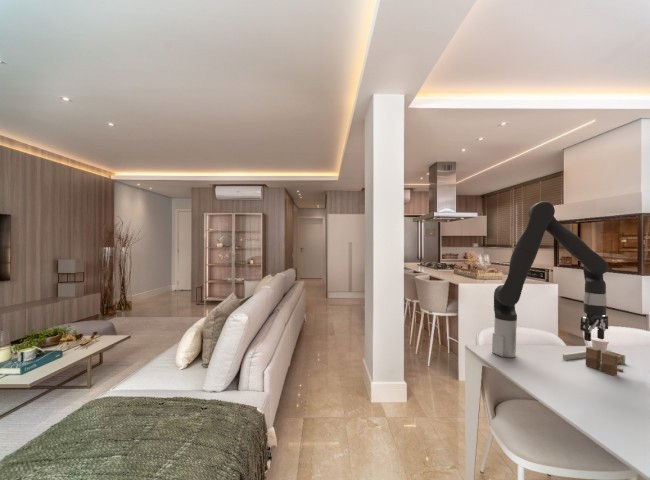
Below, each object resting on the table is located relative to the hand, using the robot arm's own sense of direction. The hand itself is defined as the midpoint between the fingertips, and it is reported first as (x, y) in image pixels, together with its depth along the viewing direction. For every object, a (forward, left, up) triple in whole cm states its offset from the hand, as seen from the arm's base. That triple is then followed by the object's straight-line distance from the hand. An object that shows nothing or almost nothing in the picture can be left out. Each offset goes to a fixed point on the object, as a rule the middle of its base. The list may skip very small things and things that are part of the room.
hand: (594, 339), depth 135 cm
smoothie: (+12, +5, -12) cm, 18 cm away
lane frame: (+8, +5, -12) cm, 15 cm away
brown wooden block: (+3, -6, -12) cm, 14 cm away
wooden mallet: (+8, +3, -12) cm, 15 cm away
